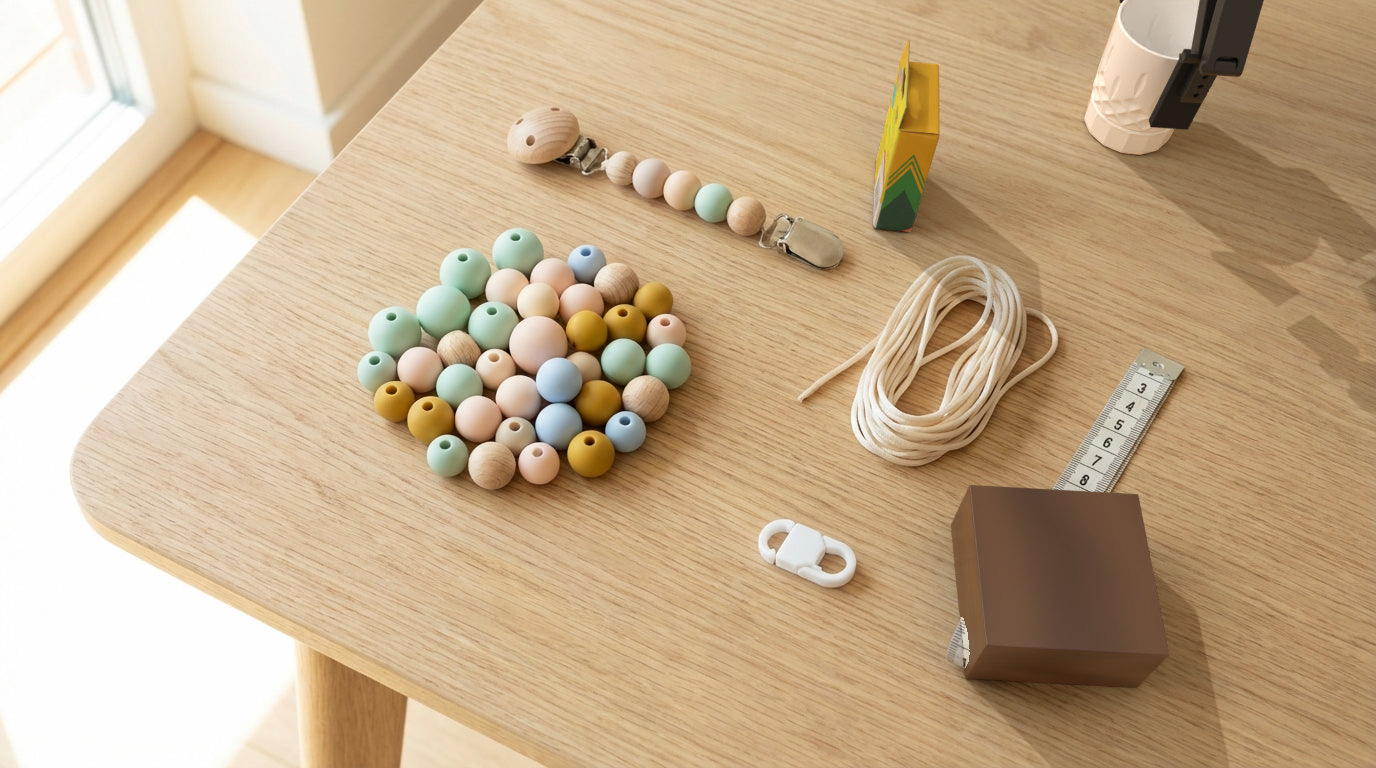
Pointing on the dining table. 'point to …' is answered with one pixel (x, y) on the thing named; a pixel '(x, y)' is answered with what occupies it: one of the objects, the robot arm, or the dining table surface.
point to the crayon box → (906, 145)
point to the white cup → (1138, 72)
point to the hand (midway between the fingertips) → (1151, 60)
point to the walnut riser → (1056, 587)
